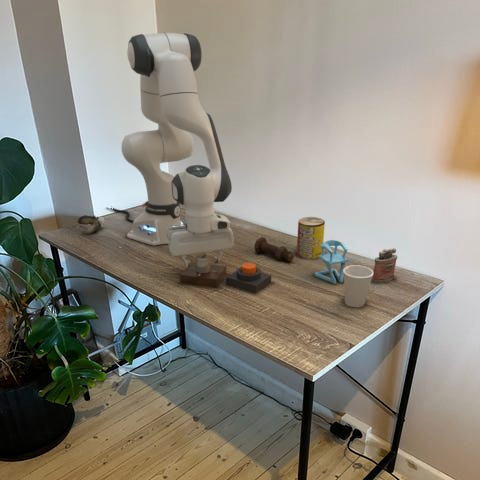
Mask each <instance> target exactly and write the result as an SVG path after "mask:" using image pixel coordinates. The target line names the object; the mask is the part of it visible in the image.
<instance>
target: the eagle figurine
mask: <svg viewBox="0 0 480 480" xmlns="http://www.w3.org/2000/svg"><path fill="white" fill-rule="evenodd" d="M105 220H106V219H105V218H104V217H103V216H96V215H95V214H94V215H92V216H91V215H87V214H84V215H81V216H80V217H79V218H78V219H77V224H78V225H90V226H89V227H88V228H87V229H86V230H84V231H83V235H92V234H93V233H95V232H96V230H98V229H102V228H103V227H102V225H104V224H105Z"/></svg>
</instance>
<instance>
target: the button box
mask: <svg viewBox="0 0 480 480" xmlns="http://www.w3.org/2000/svg"><path fill="white" fill-rule="evenodd" d="M271 283H272V274H269V273H265V272H262V270H261V268H259V267H258V266H256V273H254V274H244V273H242V266H240V267H239V268H237V270H235V271H234V272H231V273H230V274H229V275H226V276H225V285H226V286H230V287H233V288H236V289H240V290H243V291H246V292H250V293H253V294H257V293H258V292H260V291H261V290H263V289H264V288H266V287H267V286H268V285H270V284H271Z"/></svg>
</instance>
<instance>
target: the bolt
mask: <svg viewBox="0 0 480 480" xmlns="http://www.w3.org/2000/svg"><path fill="white" fill-rule="evenodd" d="M253 246H254V251H255V252H256V253H257V254H262V253H266V254H270V255H272V256H275V259H276V260H277V261H280V262H282V261H287V262H292V261H293V259H294V258H295V254H294V252H292V251H289V250H288V248H287V247H286V246H276V245H274V244H271V243H269V242H268V240H267V238H266V237H258V238H257V239H256V241H255V242H254V245H253Z"/></svg>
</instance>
